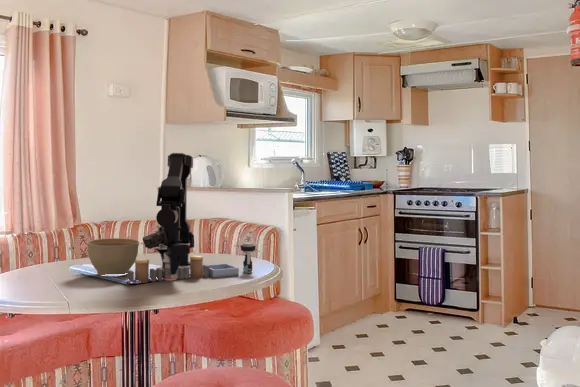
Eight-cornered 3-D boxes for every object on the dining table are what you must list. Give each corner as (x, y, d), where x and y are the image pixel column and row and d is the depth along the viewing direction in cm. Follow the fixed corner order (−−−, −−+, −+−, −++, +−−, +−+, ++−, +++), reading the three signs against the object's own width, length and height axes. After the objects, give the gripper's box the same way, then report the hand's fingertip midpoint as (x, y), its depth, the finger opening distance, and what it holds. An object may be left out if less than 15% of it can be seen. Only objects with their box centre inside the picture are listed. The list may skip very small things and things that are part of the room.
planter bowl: (75, 276, 182) (75, 242, 181) (109, 268, 197) (110, 237, 196) (116, 281, 176) (117, 246, 175) (148, 273, 191) (149, 240, 190)
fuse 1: (133, 280, 178) (133, 259, 177) (146, 279, 180) (146, 258, 180) (137, 283, 174) (137, 261, 174) (150, 282, 177) (150, 260, 176)
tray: (201, 272, 194) (201, 265, 194) (226, 270, 199) (226, 263, 199) (213, 277, 186) (213, 270, 186) (238, 275, 191) (238, 267, 191)
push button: (257, 274, 194) (258, 244, 194) (241, 274, 193) (242, 244, 192) (253, 270, 201) (254, 241, 200) (238, 270, 199) (239, 242, 199)
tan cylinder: (187, 276, 187) (188, 256, 187) (199, 275, 190) (200, 255, 189) (192, 278, 184) (193, 258, 184) (204, 277, 186) (205, 257, 186)
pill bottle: (163, 277, 184) (163, 251, 184) (178, 277, 185) (178, 251, 184) (161, 280, 179) (161, 254, 179) (176, 280, 180) (176, 254, 179)
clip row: (127, 281, 176) (127, 270, 176) (205, 275, 190) (205, 264, 190) (130, 283, 174) (130, 272, 174) (209, 276, 188) (209, 266, 187)
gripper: (136, 221, 185) (135, 269, 185) (155, 228, 169) (154, 280, 170) (169, 220, 191) (168, 267, 191) (191, 226, 175) (190, 277, 176)
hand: (169, 272), depth 182 cm, fingers open, 6 cm apart
